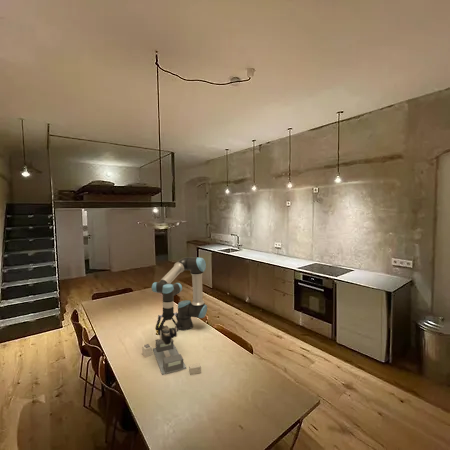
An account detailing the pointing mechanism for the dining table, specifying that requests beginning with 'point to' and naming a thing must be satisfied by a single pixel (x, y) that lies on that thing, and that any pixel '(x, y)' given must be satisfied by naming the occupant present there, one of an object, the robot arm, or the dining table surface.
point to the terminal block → (194, 369)
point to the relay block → (147, 350)
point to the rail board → (160, 359)
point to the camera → (167, 334)
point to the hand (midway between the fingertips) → (168, 337)
